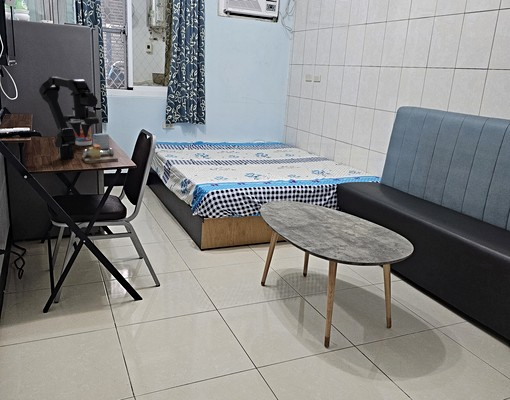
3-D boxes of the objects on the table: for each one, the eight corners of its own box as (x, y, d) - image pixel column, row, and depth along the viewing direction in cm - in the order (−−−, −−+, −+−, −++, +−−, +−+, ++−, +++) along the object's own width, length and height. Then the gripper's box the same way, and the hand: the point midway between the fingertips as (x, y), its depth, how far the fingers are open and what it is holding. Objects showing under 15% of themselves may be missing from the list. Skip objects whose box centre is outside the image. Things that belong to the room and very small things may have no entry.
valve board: (86, 163, 223) (85, 150, 221) (81, 158, 234) (80, 145, 232) (118, 161, 231) (117, 148, 229) (112, 156, 242) (111, 143, 240)
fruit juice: (94, 143, 276) (91, 97, 268) (88, 146, 267) (84, 99, 259) (80, 142, 277) (76, 97, 268) (73, 145, 268) (68, 98, 259)
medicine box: (105, 147, 266) (104, 133, 263) (109, 148, 263) (108, 133, 260) (93, 148, 260) (92, 134, 257) (97, 150, 257) (96, 135, 254)
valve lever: (91, 146, 231) (90, 142, 231) (96, 145, 233) (96, 142, 232) (95, 150, 222) (95, 146, 222) (100, 149, 223) (100, 146, 223)
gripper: (105, 105, 221) (108, 136, 226) (78, 103, 229) (81, 133, 233) (89, 107, 212) (91, 139, 216) (61, 104, 219) (64, 135, 224)
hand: (82, 136), depth 223 cm, fingers open, 4 cm apart
